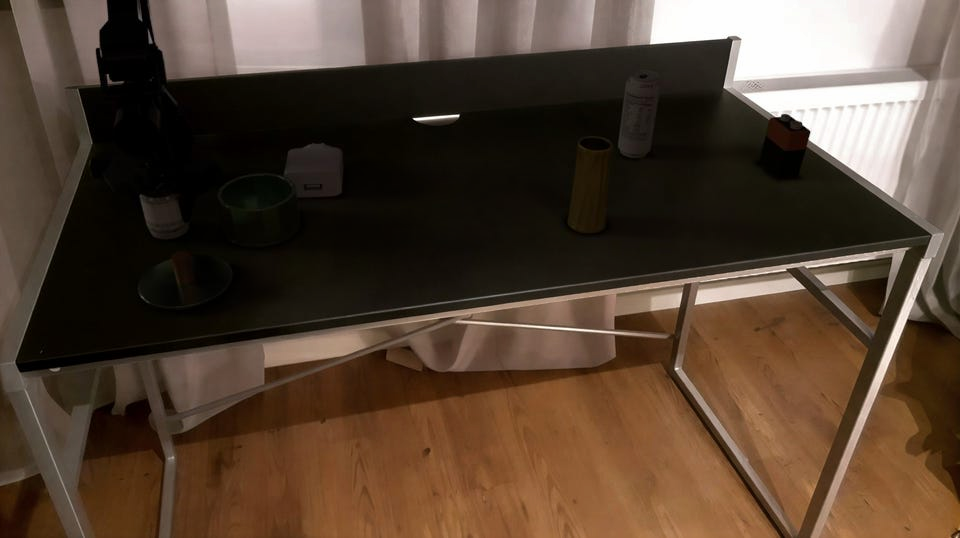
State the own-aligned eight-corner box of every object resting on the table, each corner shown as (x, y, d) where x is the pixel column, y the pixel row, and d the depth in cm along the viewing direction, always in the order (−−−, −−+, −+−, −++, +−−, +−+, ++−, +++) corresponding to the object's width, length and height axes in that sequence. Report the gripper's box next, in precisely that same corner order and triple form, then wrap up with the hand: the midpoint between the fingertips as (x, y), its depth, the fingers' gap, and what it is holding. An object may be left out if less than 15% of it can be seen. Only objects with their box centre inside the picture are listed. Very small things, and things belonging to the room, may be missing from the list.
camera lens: (141, 238, 121) (129, 193, 117) (161, 217, 126) (150, 173, 122) (180, 242, 120) (169, 197, 116) (198, 221, 125) (189, 177, 121)
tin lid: (120, 304, 108) (111, 274, 105) (172, 255, 118) (165, 225, 115) (204, 320, 106) (197, 289, 103) (249, 268, 116) (244, 238, 113)
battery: (777, 180, 141) (791, 128, 135) (757, 162, 146) (769, 112, 140) (799, 177, 142) (813, 126, 136) (778, 160, 147) (791, 110, 141)
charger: (345, 155, 146) (342, 196, 133) (293, 156, 145) (286, 198, 133) (342, 131, 143) (339, 170, 131) (290, 133, 142) (282, 172, 130)
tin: (210, 241, 121) (202, 204, 118) (246, 204, 131) (240, 168, 127) (280, 252, 119) (274, 215, 115) (312, 214, 128) (308, 178, 125)
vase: (580, 237, 124) (589, 155, 116) (559, 219, 129) (567, 138, 120) (613, 228, 127) (624, 147, 118) (591, 210, 131) (600, 131, 123)
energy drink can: (654, 150, 150) (667, 73, 141) (642, 162, 146) (653, 84, 137) (625, 141, 152) (635, 66, 144) (612, 153, 148) (621, 76, 139)
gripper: (49, 140, 108) (80, 236, 117) (172, 158, 105) (194, 256, 114) (100, 108, 117) (125, 200, 126) (215, 124, 114) (232, 217, 123)
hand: (167, 218), depth 122 cm, fingers closed on camera lens, 6 cm apart
